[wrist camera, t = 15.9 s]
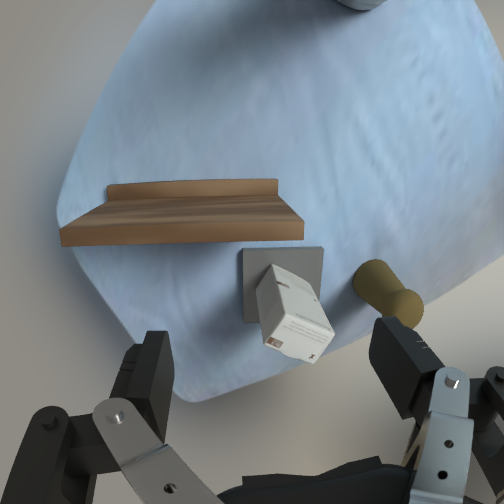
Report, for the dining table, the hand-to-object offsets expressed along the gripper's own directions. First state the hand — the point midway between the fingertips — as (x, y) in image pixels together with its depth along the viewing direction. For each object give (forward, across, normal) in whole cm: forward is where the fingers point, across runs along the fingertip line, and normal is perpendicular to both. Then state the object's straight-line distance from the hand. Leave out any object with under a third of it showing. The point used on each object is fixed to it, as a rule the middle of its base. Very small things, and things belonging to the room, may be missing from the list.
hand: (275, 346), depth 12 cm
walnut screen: (+28, +6, 0) cm, 28 cm away
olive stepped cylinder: (+28, -18, +11) cm, 35 cm away
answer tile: (+28, -5, +11) cm, 30 cm away
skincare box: (+27, -5, +11) cm, 29 cm away
